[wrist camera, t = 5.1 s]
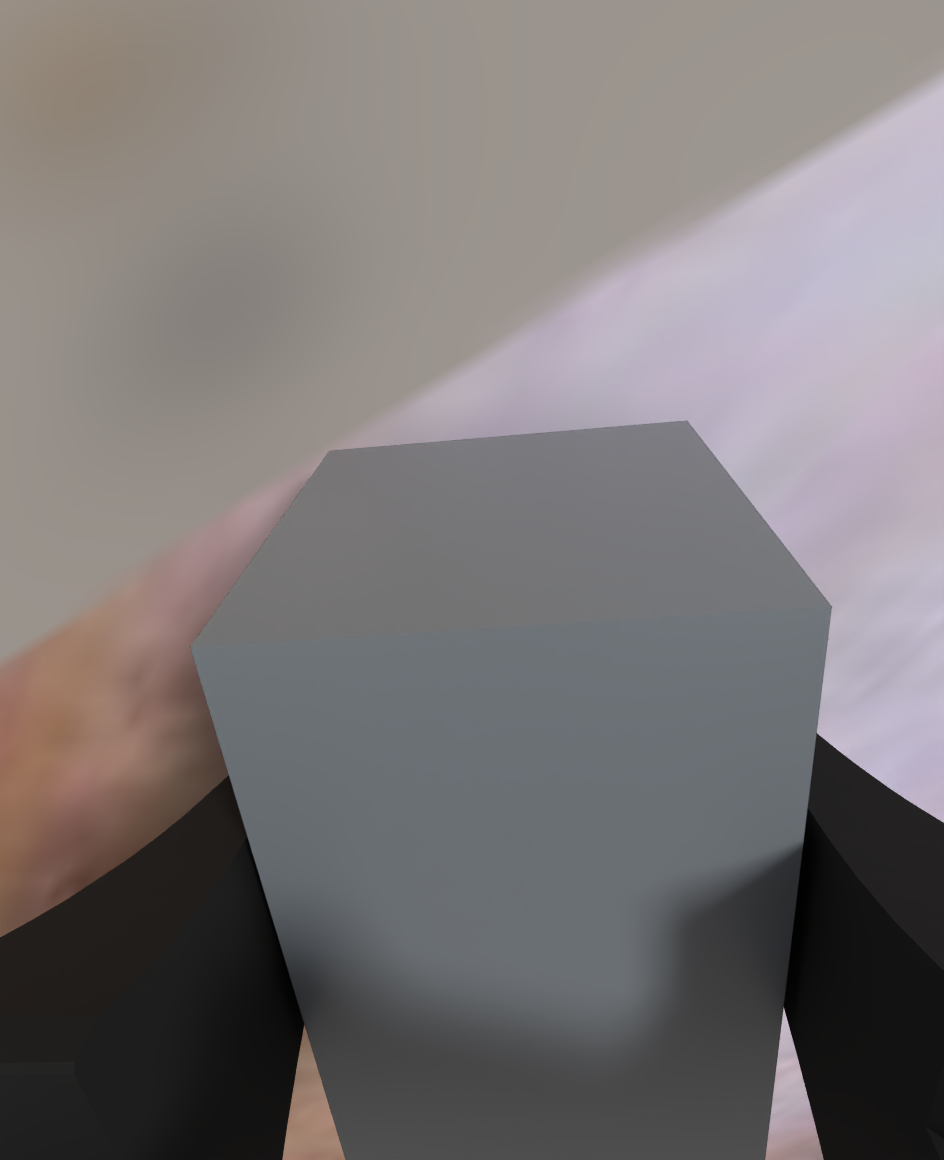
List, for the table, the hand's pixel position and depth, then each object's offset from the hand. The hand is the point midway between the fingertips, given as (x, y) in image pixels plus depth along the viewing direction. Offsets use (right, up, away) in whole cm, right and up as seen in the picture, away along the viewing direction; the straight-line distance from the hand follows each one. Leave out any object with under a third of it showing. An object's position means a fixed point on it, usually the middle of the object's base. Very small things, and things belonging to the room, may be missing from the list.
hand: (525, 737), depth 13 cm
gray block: (0, +1, +2) cm, 2 cm away
